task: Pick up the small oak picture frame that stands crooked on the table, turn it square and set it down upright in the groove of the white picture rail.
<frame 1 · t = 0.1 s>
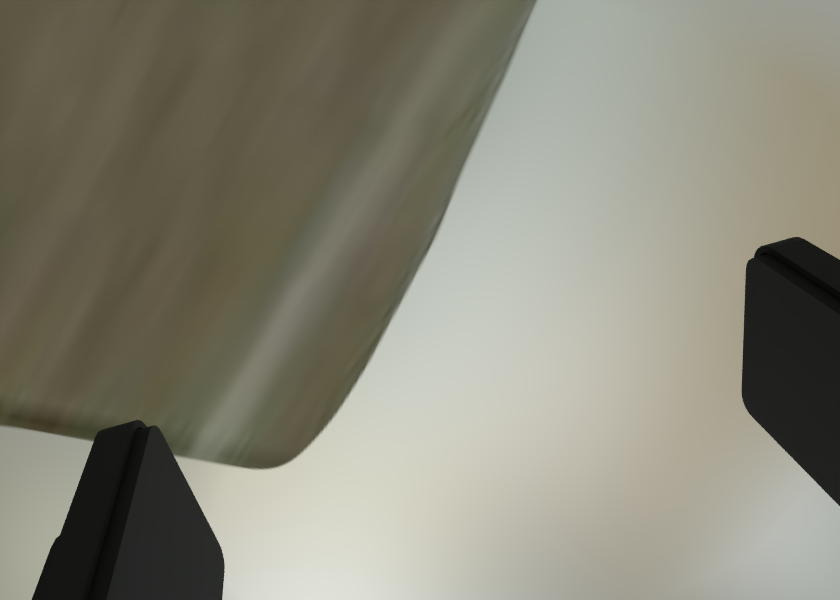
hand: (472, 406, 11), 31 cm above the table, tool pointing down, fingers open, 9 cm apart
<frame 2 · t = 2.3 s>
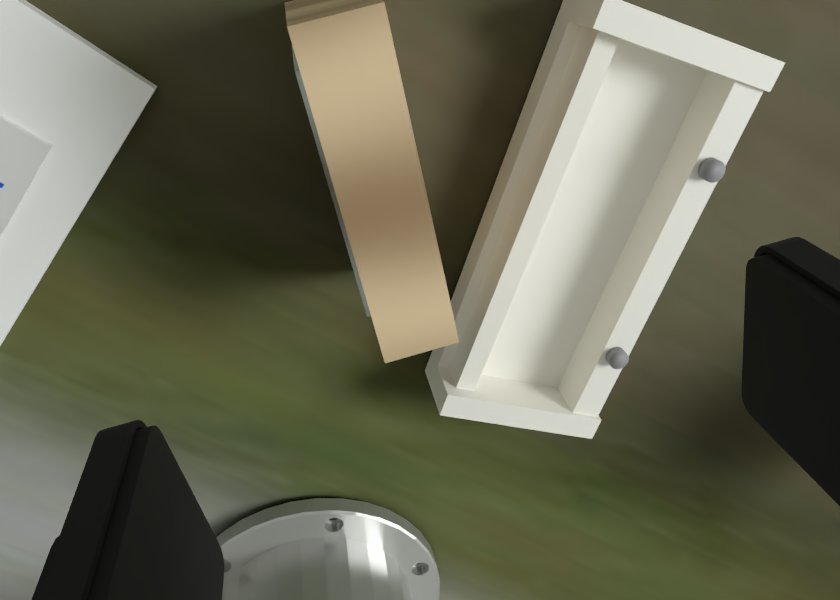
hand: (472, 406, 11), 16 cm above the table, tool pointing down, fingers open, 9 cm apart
picture rail: (565, 222, 28), on the table
oak frame: (358, 140, 25), on the table
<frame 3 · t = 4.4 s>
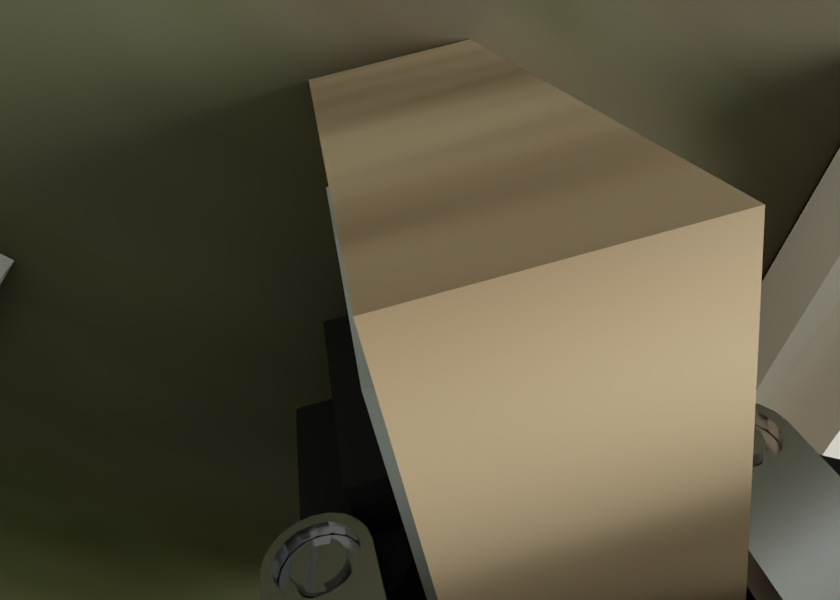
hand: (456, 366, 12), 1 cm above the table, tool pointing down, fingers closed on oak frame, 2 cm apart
picture rail: (803, 453, 15), on the table
oak frame: (452, 342, 12), on the table, touching gripper
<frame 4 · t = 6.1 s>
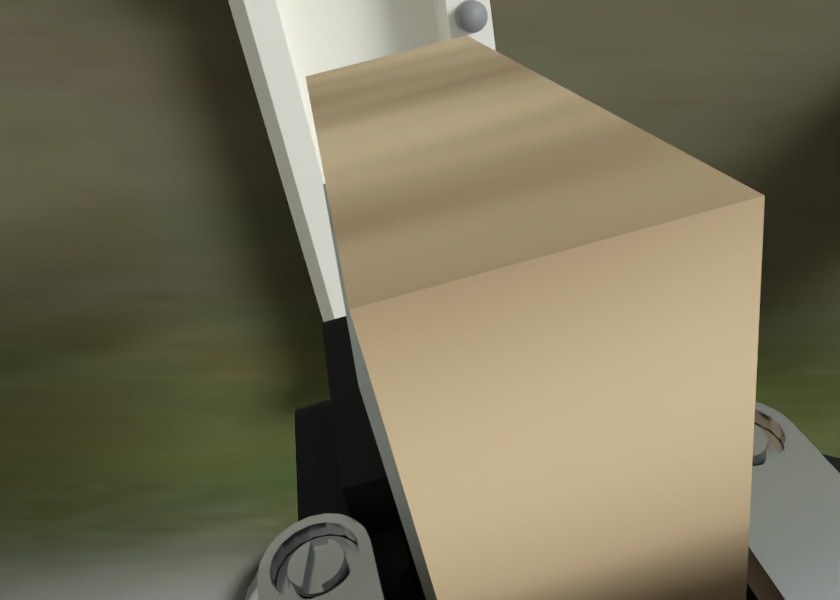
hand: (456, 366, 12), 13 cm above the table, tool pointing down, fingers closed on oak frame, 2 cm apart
picture rail: (384, 149, 23), on the table
oak frame: (450, 340, 12), point 12 cm above the table, touching gripper
when the fingers open (4 cm above the table, at t = 8.1 s): oak frame drops 2 cm, resting on picture rail.
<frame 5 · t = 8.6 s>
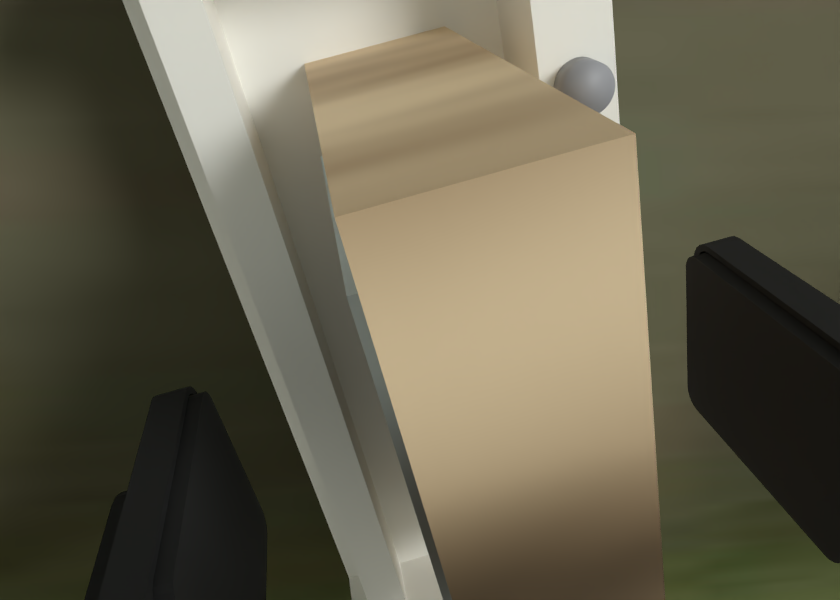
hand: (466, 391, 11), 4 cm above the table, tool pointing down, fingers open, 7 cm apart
picture rail: (419, 275, 15), on the table
oak frame: (436, 300, 14), point 1 cm above the table, touching picture rail
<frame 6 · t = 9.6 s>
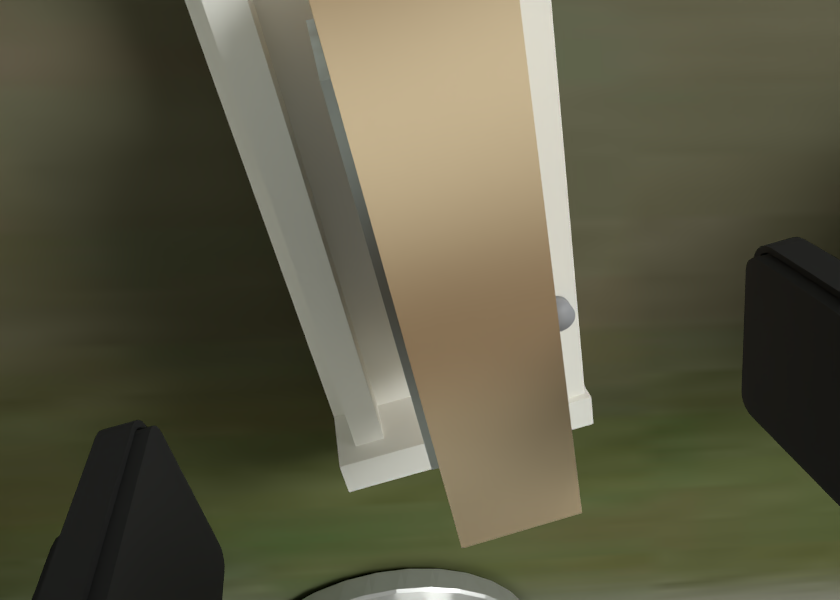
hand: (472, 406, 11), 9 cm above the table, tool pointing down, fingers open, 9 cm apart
picture rail: (393, 147, 17), on the table
oak frame: (406, 163, 16), point 1 cm above the table, touching picture rail
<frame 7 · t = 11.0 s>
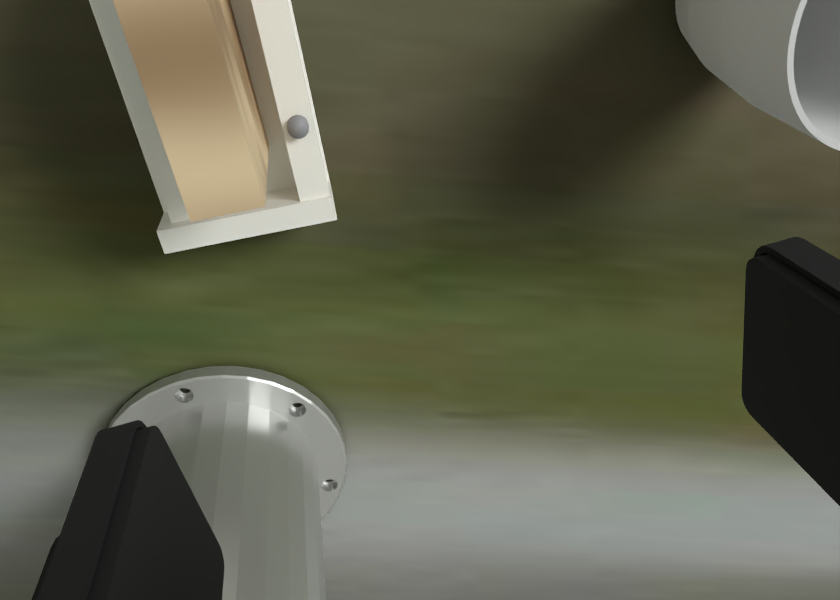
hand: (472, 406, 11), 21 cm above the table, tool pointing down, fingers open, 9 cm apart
picture rail: (200, 16, 26), on the table
oak frame: (201, 20, 25), point 1 cm above the table, touching picture rail
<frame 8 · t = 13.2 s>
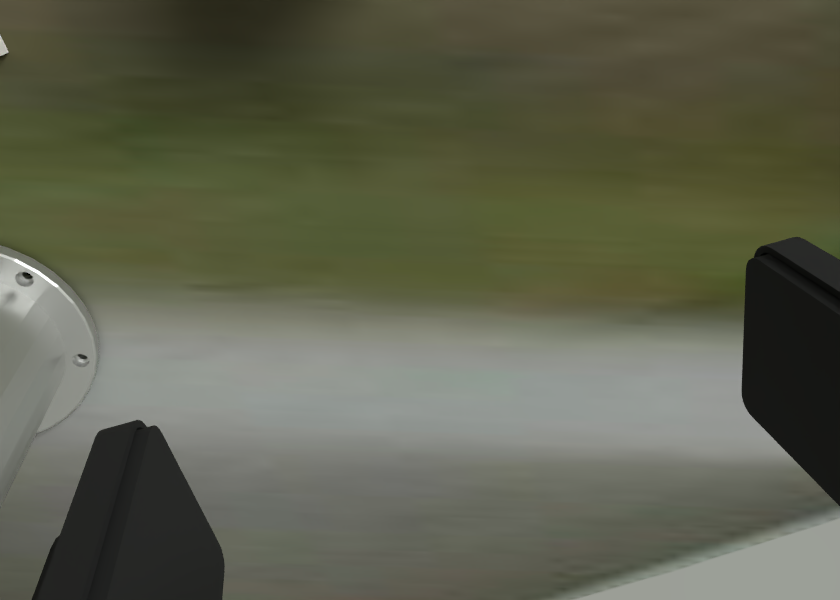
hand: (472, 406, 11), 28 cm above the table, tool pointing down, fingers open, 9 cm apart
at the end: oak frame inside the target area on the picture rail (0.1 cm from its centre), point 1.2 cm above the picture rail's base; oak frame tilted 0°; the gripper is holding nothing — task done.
